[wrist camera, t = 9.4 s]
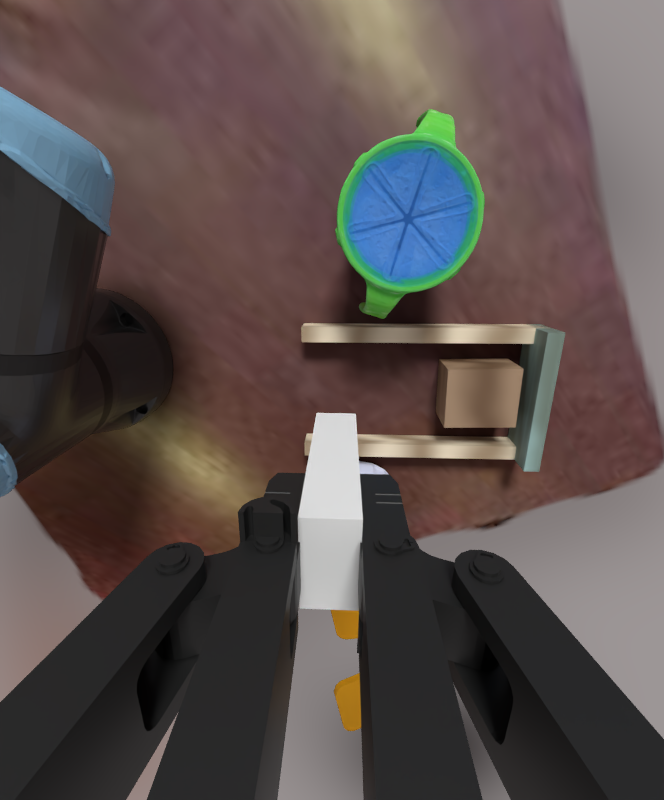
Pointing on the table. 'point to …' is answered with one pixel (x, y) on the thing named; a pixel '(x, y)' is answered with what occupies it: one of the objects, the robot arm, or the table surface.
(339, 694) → the soap bottle
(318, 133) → the table surface
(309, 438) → the lane
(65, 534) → the table surface
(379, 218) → the snack cup
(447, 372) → the block
